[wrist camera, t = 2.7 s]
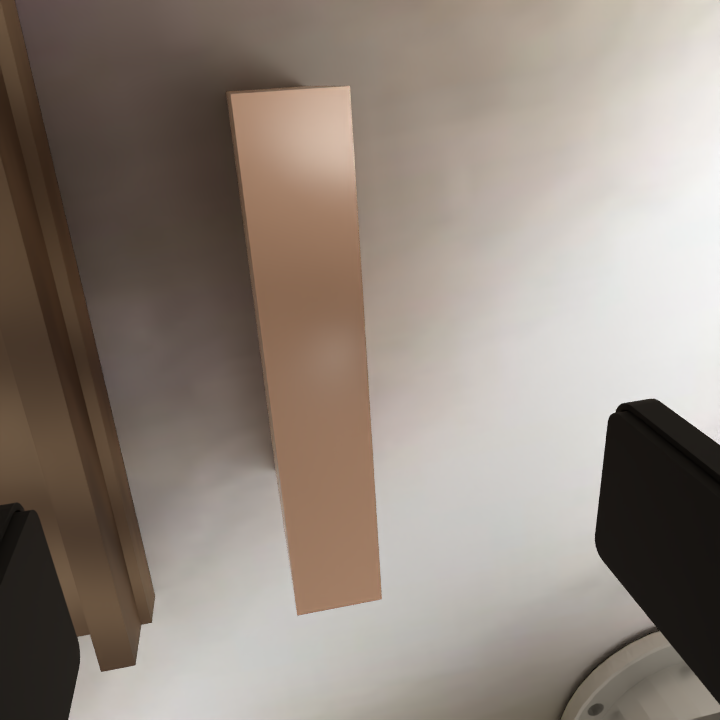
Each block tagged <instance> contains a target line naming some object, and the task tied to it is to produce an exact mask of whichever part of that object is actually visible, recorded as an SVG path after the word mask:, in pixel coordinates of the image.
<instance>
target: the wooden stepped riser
mask: <svg viewBox="0 0 720 720" xmlns="http://www.w3.org/2000/svg"><path fill="white" fill-rule="evenodd" d="M16 502H18V503H20V504H21V505H22V506H23V508H24V510H25V511H27V510H35V511H36V512H37V514H38V516H39V519H40V522H41V525H42V528H43V531H44V534H45V538H46V541H47V544H48V547H49V550H50V553H51V557H52V560H53V563H54V566H55V569H56V572H57V575H58V579H59V582H60V585H61V588H62V591H63V594H64V598H65V601H66V604H67V607H68V610H69V613H70V616H71V620H72V623H73V626H74V629H75V632H76V635H77V637H78V636H84V635H89V634H90V636H91V639H92V642H93V646H94V649H95V653H96V656H97V659H98V663H99V666H100V670H101V672H103V671H108V670H114V669H119V668H124V667H129V666H134V665H136V658H137V651H138V644H139V637H140V630H141V625H142V624H147V623H152V616H153V608H154V600H155V594H154V590H153V585H152V581H151V577H150V573H149V568H148V564H147V560H146V556H145V551H144V547H143V543H142V539H141V534H140V530H139V526H138V522H137V517H136V513H135V509H134V505H133V500H132V496H131V492H130V488H129V484H128V479H127V475H126V471H125V467H124V462H123V458H122V454H121V450H120V445H119V441H118V437H117V433H116V428H115V424H114V420H113V416H112V411H111V407H110V403H109V399H108V394H107V390H106V386H105V382H104V378H103V373H102V369H101V365H100V361H99V356H98V352H97V348H96V344H95V339H94V335H93V331H92V327H91V322H90V318H89V314H88V310H87V305H86V301H85V297H84V293H83V288H82V284H81V280H80V276H79V271H78V267H77V263H76V259H75V255H74V250H73V246H72V242H71V238H70V233H69V229H68V225H67V221H66V216H65V212H64V208H63V204H62V199H61V195H60V191H59V187H58V182H57V178H56V174H55V170H54V165H53V161H52V157H51V153H50V148H49V144H48V140H47V136H46V132H45V127H44V123H43V119H42V115H41V110H40V106H39V102H38V98H37V93H36V89H35V85H34V81H33V76H32V72H31V68H30V64H29V59H28V55H27V51H26V47H25V42H24V38H23V34H22V30H21V26H20V21H19V17H18V13H17V9H16V4H15V0H0V505H4V504H10V503H16Z"/></svg>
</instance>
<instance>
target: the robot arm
mask: <svg viewBox="0 0 720 720" xmlns="http://www.w3.org/2000/svg"><path fill="white" fill-rule="evenodd" d="M595 544H596V548H597V551H598V554H599V556H600V557H601V559H602V560H603V562H604V563H605V564H606V565H607V567H608V568H609V569H610V570H611V571H612V573H613V574H614V575H615V576H616V578H617V579H618V580H619V581H620V583H621V584H622V585H623V586H624V587H625V589H626V590H627V591H628V592H629V594H630V595H631V596H632V597H633V599H634V600H635V601H636V602H637V604H638V605H639V606H640V607H641V608H642V610H643V611H644V612H645V613H646V615H647V616H648V617H649V618H650V620H651V621H652V622H653V623H654V624H655V626H656V627H657V628H658V629H659V631H657V632H654V633H651V634H649V635H647V636H645V637H643V638H641V639H639V640H636V641H634V642H632V643H630V644H628V645H627V646H625V647H624V648H622V649H621V650H619V651H618V652H616V653H615V654H613V655H612V656H610V657H609V658H608V659H606V660H605V661H604V662H603V663H602V664H601V665H599V666H598V667H597V668H596V669H595V670H594V671H592V673H591V674H590V675H589V676H588V677H587V678H586V679H585V680H584V681H583V683H582V684H581V685H580V686H579V687H578V689H577V690H576V692H575V693H574V695H573V696H572V698H571V699H570V701H569V702H568V704H567V706H566V709H565V711H564V713H563V715H562V718H561V720H720V445H719V444H718V443H716V442H715V441H713V440H712V439H711V438H709V437H708V436H707V435H705V434H704V433H702V432H701V431H700V430H698V429H697V428H696V427H694V426H693V425H691V424H690V423H689V422H687V421H686V420H685V419H683V418H682V417H680V416H679V415H678V414H676V413H675V412H674V411H672V410H671V409H669V408H668V407H667V406H665V405H664V404H663V403H661V402H660V401H658V400H656V399H646V400H640V401H634V402H628V403H622V404H621V405H619V406H618V408H617V409H616V413H613V414H612V415H610V417H609V420H608V425H607V434H606V443H605V452H604V461H603V470H602V479H601V487H600V496H599V505H598V514H597V523H596V532H595ZM79 664H80V649H79V642H78V639H77V635H76V632H75V629H74V626H73V623H72V620H71V616H70V613H69V610H68V607H67V604H66V601H65V598H64V594H63V591H62V588H61V585H60V582H59V579H58V575H57V572H56V569H55V566H54V563H53V560H52V557H51V553H50V550H49V547H48V544H47V541H46V538H45V534H44V531H43V528H42V525H41V522H40V519H39V516H38V514H37V512H36V511H35V510H27V511H25V510H24V508H23V506H22V505H21V504H20V503H18V502H16V503H10V504H4V505H0V720H68V718H69V713H70V708H71V703H72V699H73V694H74V689H75V685H76V680H77V675H78V670H79Z"/></svg>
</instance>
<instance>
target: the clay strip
mask: <svg viewBox="0 0 720 720" xmlns="http://www.w3.org/2000/svg"><path fill="white" fill-rule="evenodd" d="M226 96H227V104H228V111H229V119H230V127H231V134H232V142H233V150H234V157H235V165H236V172H237V180H238V188H239V195H240V203H241V211H242V218H243V226H244V234H245V241H246V249H247V257H248V264H249V272H250V280H251V287H252V295H253V303H254V310H255V318H256V325H257V333H258V341H259V348H260V356H261V364H262V371H263V379H264V387H265V394H266V402H267V410H268V417H269V425H270V433H271V440H272V448H273V456H274V463H275V471H276V477H277V484H278V491H279V497H280V504H281V510H282V517H283V524H284V530H285V537H286V543H287V550H288V556H289V563H290V570H291V576H292V583H293V589H294V596H295V603H296V609H297V616H298V615H303V614H308V613H313V612H318V611H323V610H328V609H334V608H339V607H344V606H349V605H354V604H359V603H364V602H370V601H375V600H380V599H382V596H381V579H380V563H379V547H378V531H377V515H376V499H375V483H374V467H373V450H372V434H371V418H370V402H369V386H368V370H367V354H366V337H365V321H364V305H363V289H362V273H361V257H360V241H359V225H358V208H357V192H356V176H355V160H354V144H353V128H352V112H351V95H350V86H301V87H286V88H272V89H257V90H242V91H227V92H226Z"/></svg>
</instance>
